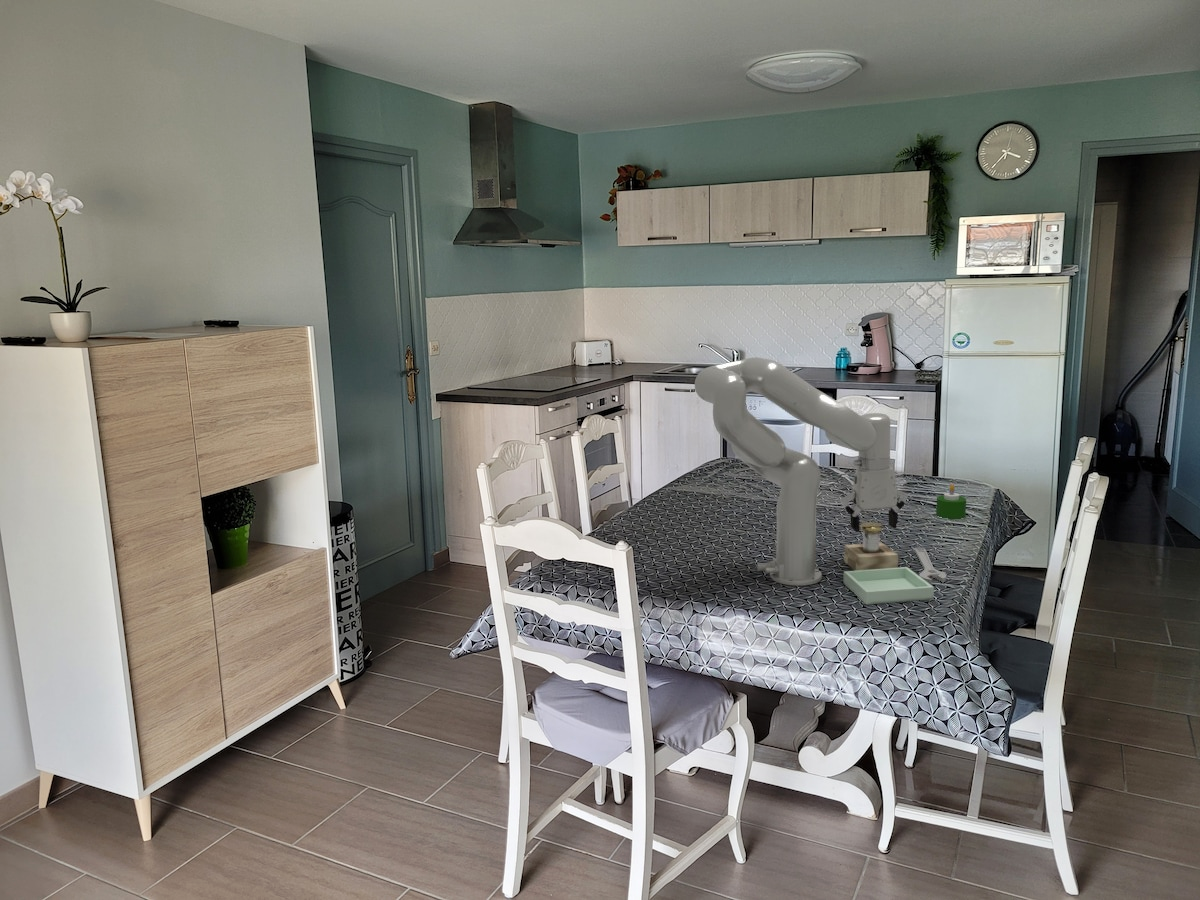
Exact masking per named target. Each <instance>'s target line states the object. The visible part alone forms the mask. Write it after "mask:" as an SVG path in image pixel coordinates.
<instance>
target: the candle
mask: <svg viewBox="0 0 1200 900" xmlns="http://www.w3.org/2000/svg"><path fill="white" fill-rule="evenodd" d="M948 488H949V492H946V493H945V492H944V494H942V495H938V496H937V497H936V507H935V508H936V509H935V511H936V512H935V516H936V515H937V516H939V517H942V518H948V519H961V518H964V517H965V518H966V512H967V499H966V497H964V496H961V495H960V494H959V493H956V492H955V484H953V483H951V484H950V485H949V487H948ZM937 516H936V517H937ZM939 517H938V518H939ZM942 518H941V519H942ZM965 518H964V519H965ZM961 520H962V519H961Z"/></svg>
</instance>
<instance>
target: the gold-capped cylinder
mask: <svg viewBox="0 0 1200 900" xmlns="http://www.w3.org/2000/svg"><path fill="white" fill-rule="evenodd" d="M860 529H861V531H862V544H863V553H865V554H869V553H879V543H880V540H881V539H880V536H881V533H880V532H882V531H883V525H882V524H881V523H878V522H870V521H869V522H863V523H861V524H860Z"/></svg>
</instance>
